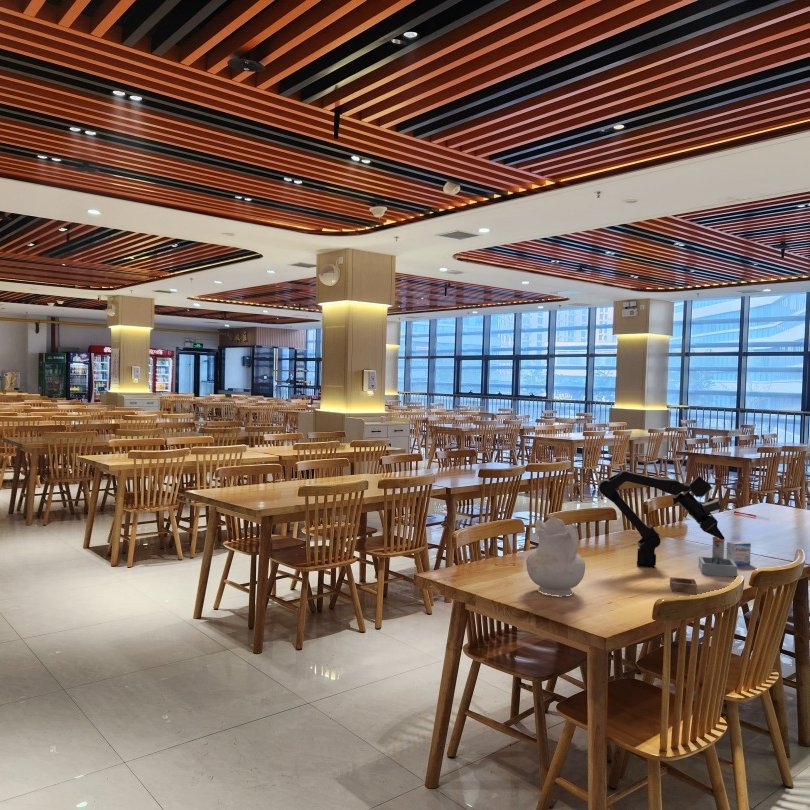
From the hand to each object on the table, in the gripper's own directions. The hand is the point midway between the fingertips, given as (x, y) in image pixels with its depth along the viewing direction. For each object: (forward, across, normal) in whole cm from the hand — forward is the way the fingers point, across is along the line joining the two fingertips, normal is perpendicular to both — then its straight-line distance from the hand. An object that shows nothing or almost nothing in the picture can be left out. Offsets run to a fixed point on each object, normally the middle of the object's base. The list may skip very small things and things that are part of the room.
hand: (721, 536), depth 267 cm
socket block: (-2, -32, +21) cm, 38 cm away
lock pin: (+8, 0, +10) cm, 13 cm away
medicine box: (+16, +17, +4) cm, 24 cm away
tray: (+9, 0, +10) cm, 14 cm away
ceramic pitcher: (-31, -52, +50) cm, 79 cm away
